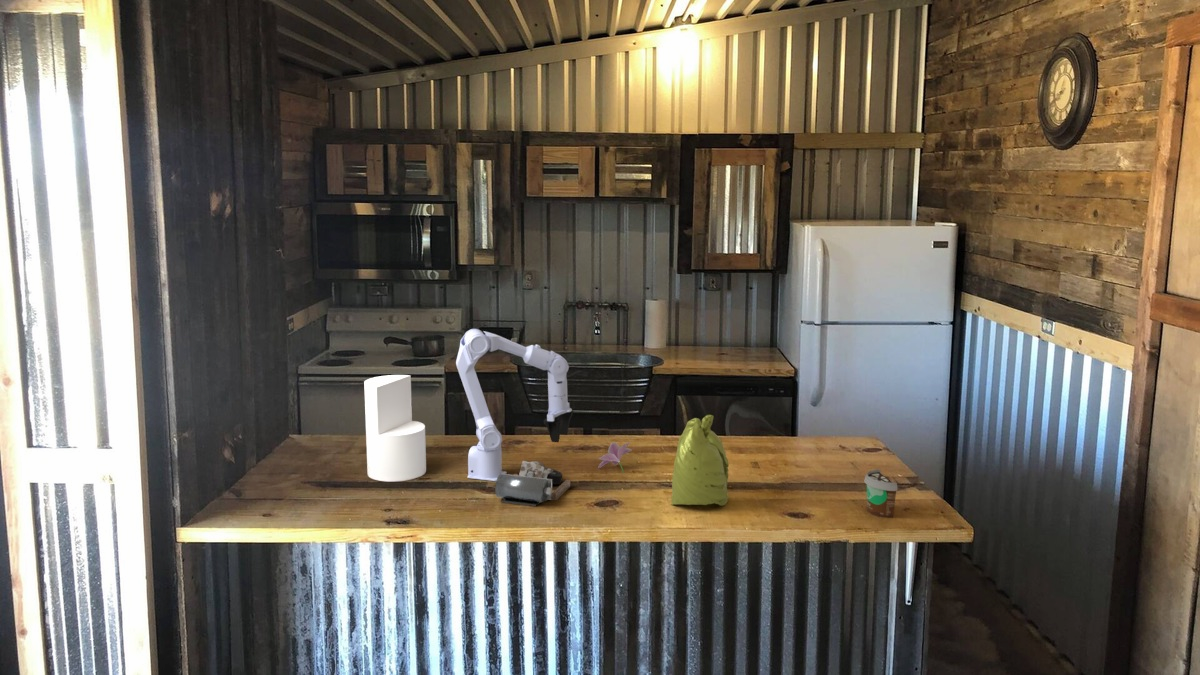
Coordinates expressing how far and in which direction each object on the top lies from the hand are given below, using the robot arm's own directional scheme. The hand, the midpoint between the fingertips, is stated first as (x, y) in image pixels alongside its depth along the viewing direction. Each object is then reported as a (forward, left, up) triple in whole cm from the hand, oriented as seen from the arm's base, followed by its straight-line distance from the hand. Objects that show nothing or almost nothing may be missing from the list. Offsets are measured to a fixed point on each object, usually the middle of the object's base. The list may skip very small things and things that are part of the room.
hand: (559, 438), depth 275 cm
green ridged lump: (+45, -9, -11) cm, 47 cm away
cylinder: (-46, -17, -10) cm, 50 cm away
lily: (+16, +6, -11) cm, 20 cm away
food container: (+92, -6, -10) cm, 93 cm away
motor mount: (-1, -22, -10) cm, 24 cm away
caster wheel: (-1, -12, -11) cm, 16 cm away
